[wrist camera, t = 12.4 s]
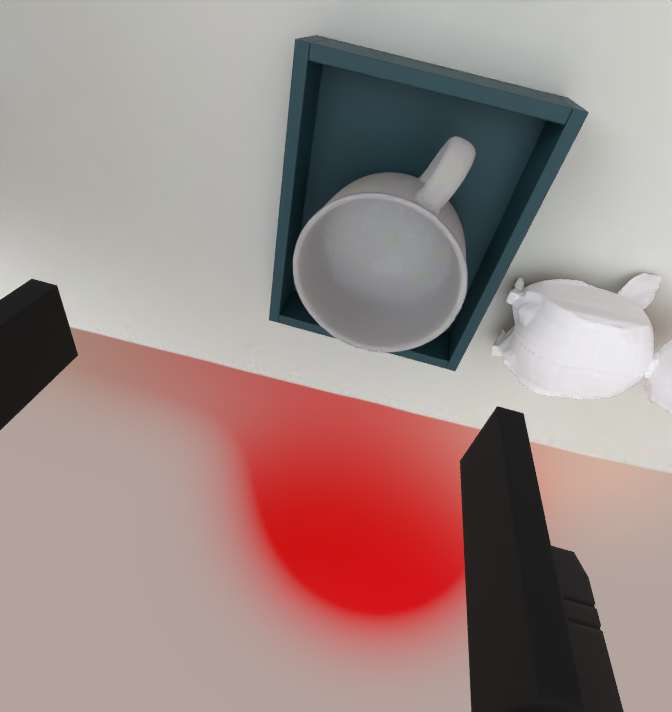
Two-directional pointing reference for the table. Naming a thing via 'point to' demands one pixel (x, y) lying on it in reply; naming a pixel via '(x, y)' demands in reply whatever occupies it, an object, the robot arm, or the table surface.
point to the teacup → (388, 256)
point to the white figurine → (586, 340)
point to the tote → (417, 161)
